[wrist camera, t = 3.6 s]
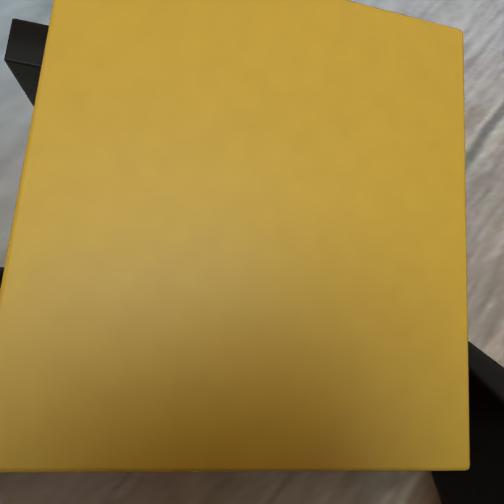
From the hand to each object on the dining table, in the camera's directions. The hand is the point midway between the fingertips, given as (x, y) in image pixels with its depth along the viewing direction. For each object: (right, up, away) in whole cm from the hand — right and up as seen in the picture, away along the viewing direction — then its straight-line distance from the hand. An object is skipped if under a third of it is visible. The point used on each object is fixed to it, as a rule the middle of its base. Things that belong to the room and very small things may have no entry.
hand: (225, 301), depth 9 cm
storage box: (-2, 0, +8) cm, 9 cm away
